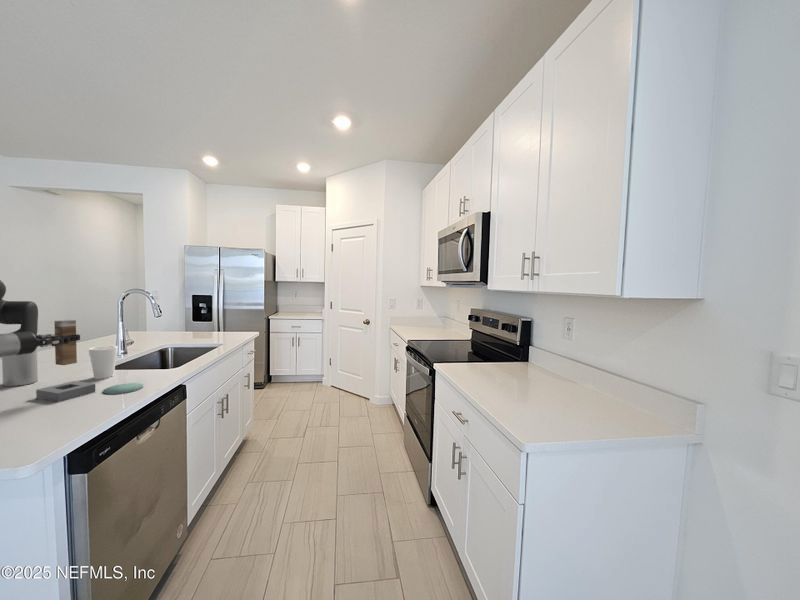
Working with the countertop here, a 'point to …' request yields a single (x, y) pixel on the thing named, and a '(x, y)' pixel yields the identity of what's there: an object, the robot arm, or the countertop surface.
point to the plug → (65, 351)
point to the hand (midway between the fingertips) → (74, 336)
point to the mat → (123, 388)
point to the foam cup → (103, 360)
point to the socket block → (65, 391)
